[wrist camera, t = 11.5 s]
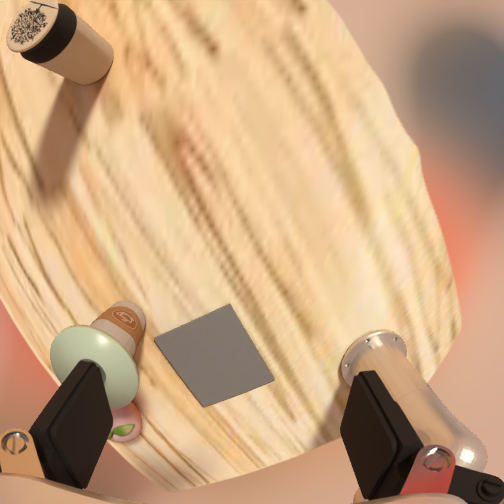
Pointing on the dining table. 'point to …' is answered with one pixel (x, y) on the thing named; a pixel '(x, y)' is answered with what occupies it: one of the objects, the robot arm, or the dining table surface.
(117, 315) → the coffee cup
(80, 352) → the lid
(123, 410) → the decorative fruit
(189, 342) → the mat
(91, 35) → the travel mug
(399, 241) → the dining table surface
